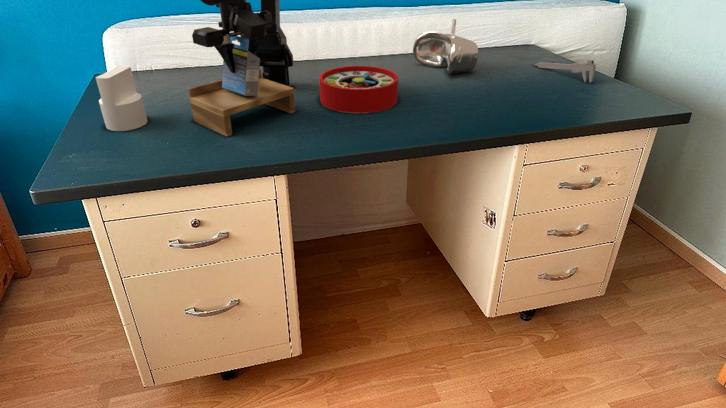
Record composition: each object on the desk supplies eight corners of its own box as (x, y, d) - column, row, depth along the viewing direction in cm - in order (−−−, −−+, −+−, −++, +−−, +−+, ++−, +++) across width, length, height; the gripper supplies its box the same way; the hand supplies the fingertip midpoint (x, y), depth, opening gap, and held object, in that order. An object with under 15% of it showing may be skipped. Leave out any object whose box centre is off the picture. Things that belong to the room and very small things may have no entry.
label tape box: (258, 96, 115) (263, 40, 111) (243, 96, 112) (248, 38, 107) (234, 88, 120) (238, 34, 115) (220, 87, 117) (223, 32, 112)
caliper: (592, 83, 142) (598, 61, 139) (590, 84, 142) (595, 61, 138) (536, 65, 157) (540, 45, 153) (534, 66, 156) (537, 45, 153)
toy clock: (304, 83, 123) (341, 62, 139) (305, 105, 126) (341, 83, 142) (379, 94, 116) (409, 71, 132) (378, 118, 119) (408, 93, 135)
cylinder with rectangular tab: (133, 132, 112) (120, 79, 106) (97, 129, 113) (81, 77, 107) (155, 117, 120) (143, 67, 113) (120, 115, 121) (107, 65, 115)
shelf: (261, 99, 130) (258, 68, 126) (295, 111, 123) (293, 79, 119) (193, 121, 117) (187, 88, 113) (226, 136, 110) (221, 101, 106)
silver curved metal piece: (411, 64, 157) (413, 16, 150) (439, 59, 163) (442, 12, 155) (449, 79, 144) (454, 27, 137) (478, 73, 150) (484, 22, 142)
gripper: (216, 8, 95) (228, 88, 104) (291, -5, 107) (296, 68, 115) (184, 1, 102) (197, 77, 110) (258, -10, 114) (265, 59, 122)
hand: (241, 70), depth 114 cm, fingers closed on label tape box, 4 cm apart
